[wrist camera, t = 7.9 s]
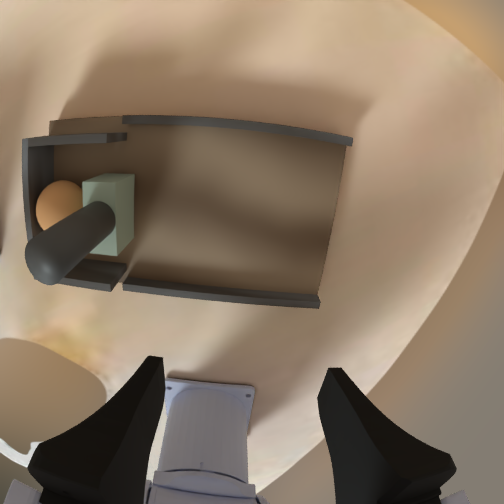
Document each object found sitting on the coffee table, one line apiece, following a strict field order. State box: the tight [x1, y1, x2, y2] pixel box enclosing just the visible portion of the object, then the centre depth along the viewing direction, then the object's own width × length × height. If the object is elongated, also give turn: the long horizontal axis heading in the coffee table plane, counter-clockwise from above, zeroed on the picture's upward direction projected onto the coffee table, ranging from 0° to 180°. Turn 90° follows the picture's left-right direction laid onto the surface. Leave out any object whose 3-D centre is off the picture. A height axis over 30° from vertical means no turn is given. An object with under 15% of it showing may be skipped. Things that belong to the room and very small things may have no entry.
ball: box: [36, 180, 83, 230], centre depth 16 cm, size 4×4×4 cm
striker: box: [25, 173, 135, 285], centre depth 13 cm, size 4×2×8 cm, turn 174°
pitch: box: [22, 115, 353, 309], centre depth 17 cm, size 11×19×4 cm, turn 84°
